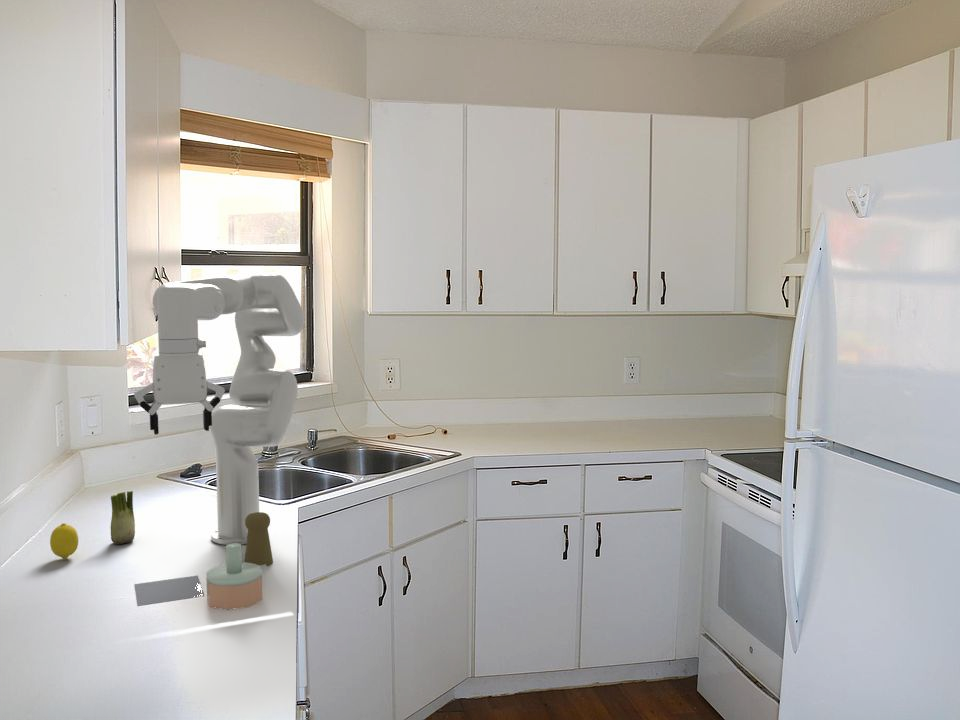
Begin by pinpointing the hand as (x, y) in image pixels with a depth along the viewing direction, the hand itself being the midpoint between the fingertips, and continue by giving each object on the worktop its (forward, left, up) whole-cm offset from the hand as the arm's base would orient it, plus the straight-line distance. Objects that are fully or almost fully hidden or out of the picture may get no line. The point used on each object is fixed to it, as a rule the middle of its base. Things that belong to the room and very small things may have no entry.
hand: (181, 431), depth 171 cm
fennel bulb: (-29, -11, -31) cm, 44 cm away
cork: (-2, +15, -31) cm, 34 cm away
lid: (+18, +7, -25) cm, 32 cm away
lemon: (-22, -23, -31) cm, 44 cm away
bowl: (+18, +7, -30) cm, 36 cm away
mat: (+8, -4, -30) cm, 32 cm away
